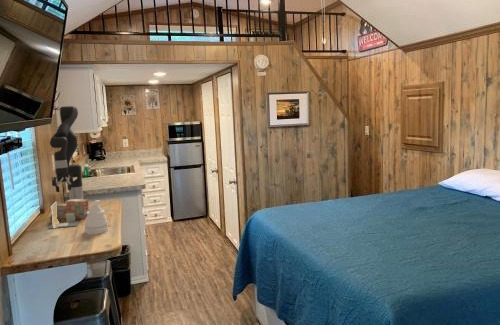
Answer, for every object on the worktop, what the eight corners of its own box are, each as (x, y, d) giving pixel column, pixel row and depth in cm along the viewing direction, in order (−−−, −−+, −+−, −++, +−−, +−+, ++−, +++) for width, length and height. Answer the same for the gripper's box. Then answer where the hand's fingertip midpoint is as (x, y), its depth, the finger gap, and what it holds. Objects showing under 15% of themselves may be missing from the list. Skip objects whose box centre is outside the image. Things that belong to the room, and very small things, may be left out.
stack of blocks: (54, 218, 264) (53, 201, 263) (60, 216, 270) (58, 198, 269) (84, 219, 262) (83, 201, 260) (89, 216, 268) (88, 199, 266)
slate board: (51, 224, 250) (51, 223, 249) (78, 222, 254) (78, 220, 254) (48, 229, 240) (48, 228, 240) (76, 226, 245) (76, 225, 245)
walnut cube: (52, 222, 256) (51, 214, 255) (60, 221, 257) (59, 214, 256) (50, 224, 251) (50, 216, 250) (59, 223, 252) (58, 216, 252)
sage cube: (67, 220, 259) (66, 213, 259) (75, 219, 261) (74, 212, 260) (66, 222, 255) (65, 214, 254) (74, 221, 256) (74, 214, 255)
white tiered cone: (100, 226, 244) (97, 198, 241) (112, 229, 236) (110, 200, 234) (80, 231, 233) (78, 202, 231) (93, 235, 226) (91, 205, 224)
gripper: (67, 166, 269) (69, 189, 270) (48, 168, 256) (50, 192, 258) (74, 165, 265) (76, 189, 267) (55, 168, 253) (57, 193, 254)
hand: (63, 191), depth 262 cm, fingers open, 8 cm apart
